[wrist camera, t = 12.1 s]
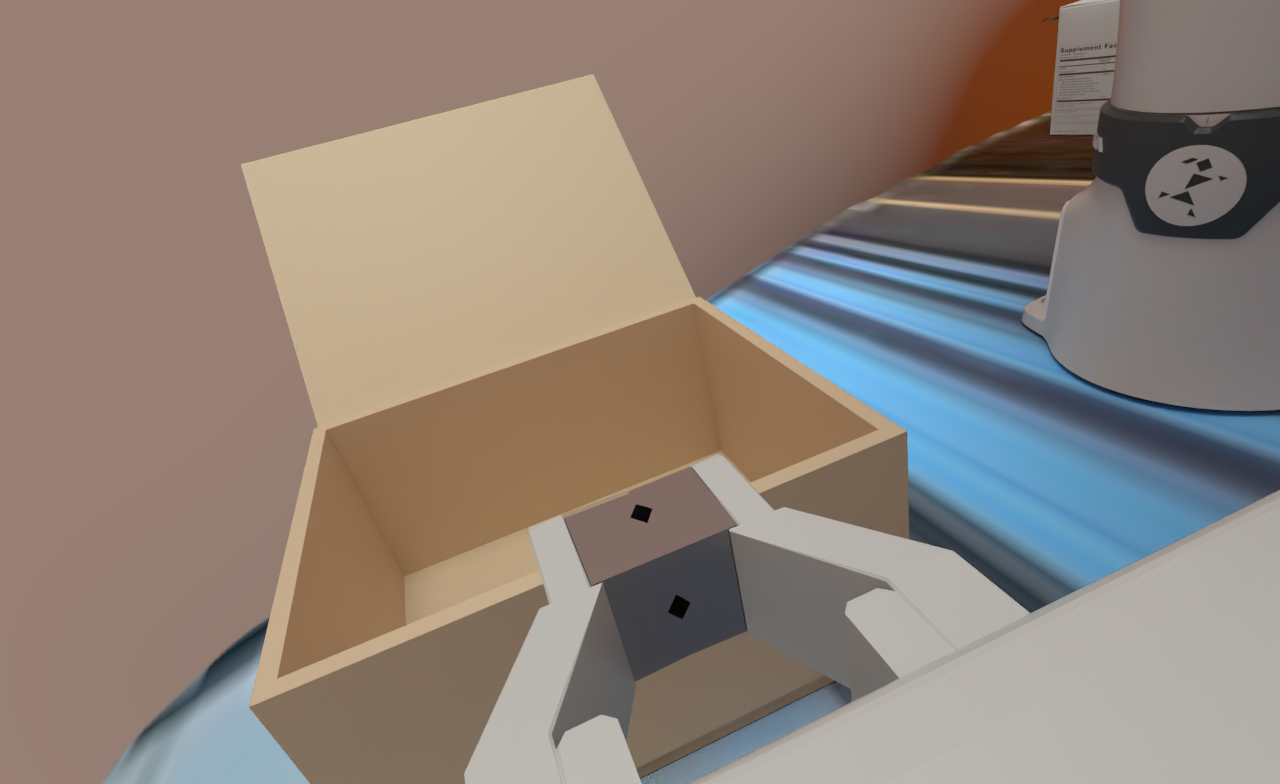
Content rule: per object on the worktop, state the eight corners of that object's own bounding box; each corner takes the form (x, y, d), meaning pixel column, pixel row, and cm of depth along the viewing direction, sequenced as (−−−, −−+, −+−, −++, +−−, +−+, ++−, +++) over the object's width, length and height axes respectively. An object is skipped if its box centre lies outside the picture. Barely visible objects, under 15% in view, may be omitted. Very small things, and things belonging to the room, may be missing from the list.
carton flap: (593, 74, 37) (592, 81, 38) (240, 164, 33) (246, 171, 34) (695, 297, 34) (693, 302, 35) (318, 427, 30) (323, 430, 31)
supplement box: (1087, 118, 88) (1101, -8, 80) (1163, 117, 80) (1186, -22, 73) (1046, 136, 84) (1057, 5, 77) (1122, 136, 77) (1141, -8, 70)
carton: (911, 643, 25) (907, 431, 20) (401, 897, 21) (249, 707, 16) (727, 450, 39) (699, 296, 34) (397, 581, 35) (313, 428, 30)
